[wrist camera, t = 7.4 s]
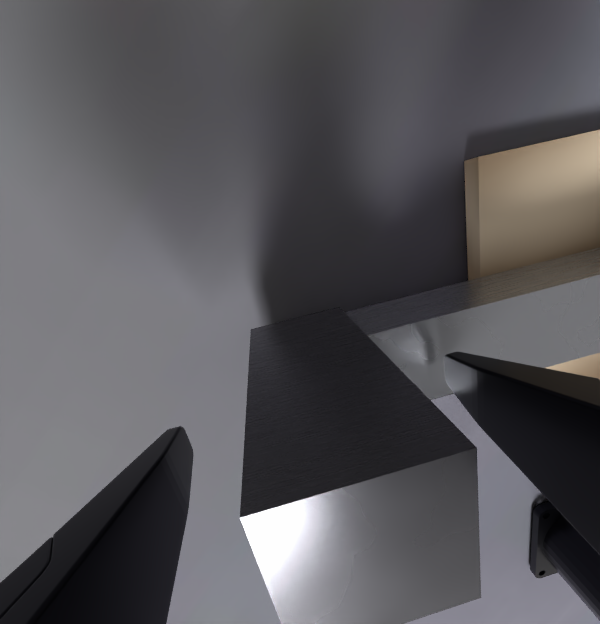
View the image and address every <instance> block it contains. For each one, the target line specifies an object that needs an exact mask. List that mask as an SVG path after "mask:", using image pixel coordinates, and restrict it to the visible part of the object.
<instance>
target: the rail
mask: <svg viewBox="0 0 600 624" xmlns="http://www.w3.org/2000/svg"><path fill="white" fill-rule="evenodd" d="M464 169H465V200H466V230H467V261H468V281H469V280H473V279H477V278H481V277H485V276H488V275H492V274H496V273H500V272H504V271H508V270H512V269H516V268H520V267H524V266H528V265H532V264H536V263H540V262H544V261H548V260H552V259H555V258H559V257H563V256H567V255H571V254H575V253H579V252H583V251H587V250H591V249H595V248H599V247H600V130H596V131H592V132H587V133H583V134H578V135H574V136H569V137H565V138H560V139H556V140H551V141H547V142H542V143H538V144H533V145H529V146H524V147H520V148H516V149H511V150H507V151H502V152H498V153H493V154H489V155H484V156H480V157H476V158H473V159H469V160H466V161H464ZM546 368H547V369H552V370H557V371H562V372H567V373H573V374H578V375H583V376H588V377H593V378H598V379H599V380H600V353H596V354H593V355H589V356H586V357H582V358H579V359H575V360H571V361H568V362H564V363H561V364H557V365H554V366H550V367H546Z"/></svg>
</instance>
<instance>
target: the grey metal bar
mask: <svg viewBox="0 0 600 624" xmlns="http://www.w3.org/2000/svg"><path fill="white" fill-rule="evenodd" d="M457 351H458V352H464V353H469V354H474V355H479V356H485V357H490V358H495V359H500V360H505V361H511V362H516V363H521V364H526V365H531V366H536V367H542V368H546V367H550V366H554V365H557V364H561V363H564V362H568V361H571V360H575V359H579V358H582V357H586V356H589V355H593V354H596V353H600V247H599V248H595V249H591V250H587V251H583V252H579V253H575V254H571V255H567V256H563V257H559V258H555V259H552V260H548V261H544V262H540V263H536V264H532V265H528V266H524V267H520V268H516V269H512V270H508V271H504V272H500V273H496V274H492V275H488V276H485V277H481V278H477V279H473V280H469V281H465V282H461V283H457V284H453V285H449V286H445V287H441V288H437V289H433V290H429V291H425V292H422V293H418V294H414V295H410V296H406V297H402V298H398V299H394V300H390V301H386V302H382V303H378V304H374V305H370V306H366V307H362V308H358V309H355V310H351V311H347V312H344V311H343V310H342V309H341V308H340V307H338V308H334V309H330V310H326V311H322V312H318V313H314V314H310V315H306V316H302V317H298V318H294V319H290V320H286V321H282V322H278V323H274V324H270V325H266V326H263V327H259V328H255V329H251V337H250V355H249V372H248V389H247V406H246V424H245V441H244V458H243V476H242V493H241V510H240V519H241V522H242V524H243V527H244V529H245V532H246V535H247V537H248V540H249V542H250V545H251V547H252V550H253V553H254V555H255V558H256V560H257V563H258V565H259V568H260V571H261V573H262V576H263V578H264V581H265V583H266V586H267V589H268V591H269V594H270V596H271V599H272V601H273V604H274V607H275V609H276V612H277V614H278V617H279V619H280V622H281V624H404V623H407V622H410V621H413V620H416V619H419V618H422V617H425V616H428V615H431V614H434V613H437V612H440V611H443V610H446V609H449V608H452V607H455V606H458V605H461V604H464V603H467V602H470V601H473V600H476V599H479V598H481V581H480V546H479V511H478V476H477V448H476V447H475V446H474V445H473V444H472V443H471V442H470V440H469V439H468V438H467V437H466V436H465V435H464V434H463V433H462V432H461V431H460V430H459V429H458V428H457V427H456V426H455V425H454V424H453V423H452V422H451V421H450V420H449V419H448V418H447V417H446V416H445V415H444V414H443V413H442V412H441V411H440V410H439V409H438V408H437V407H436V406H435V405H434V404H433V403H432V402H431V401H430V400H433V399H436V398H440V397H443V396H447V395H450V394H454V392H453V391H452V390H451V389H450V387H449V386H448V384H447V383H446V380H445V371H444V356H445V355H446V354H449V353H453V352H457Z"/></svg>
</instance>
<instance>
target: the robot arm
mask: <svg viewBox="0 0 600 624" xmlns="http://www.w3.org/2000/svg"><path fill="white" fill-rule="evenodd" d="M444 371H445V380H446V383H447V384H448V386H449V387H450V389H451V390H452V391H453V392H454V394H455V395H456V396H457V398H458V399H459V400H460V402H461V403H462V404H463V406H464V407H465V408H466V409H467V411H468V412H469V413H470V415H471V416H472V417H473V419H474V420H475V421H476V422H477V424H478V425H479V426H480V427H481V428H482V429H483V430H484V431H485V432H486V434H487V435H488V436H489V437H490V438H491V439H492V440H493V441H494V442H495V443H496V444H497V445H498V446H499V447H500V449H501V450H502V451H503V452H504V453H505V454H506V455H507V456H508V457H509V458H510V459H511V460H512V461H513V462H514V464H515V465H516V466H517V467H518V468H519V469H520V470H521V471H522V472H523V473H524V474H525V475H526V476H527V477H528V479H529V480H530V481H531V482H532V483H533V484H534V485H535V486H536V487H537V488H538V489H539V490H540V491H541V492H542V494H543V495H544V496H545V497H546V498H547V499H548V500H549V502H546V503H543V504H540V505H538V506H537V507H536V508H535V509H534V511H533V525H532V544H531V562H530V570H531V572H532V573H533V574H534V575H535V577H536V578H543V577H546V576H549V575H552V574H555V573H559V574H560V575H561V576H562V577H563V579H564V580H565V581H566V582H567V583H568V584H569V586H570V587H571V588H572V589H573V590H574V591H575V593H576V594H577V595H578V596H579V597H580V598H581V600H582V601H583V602H584V603H585V604H586V605H587V606H588V608H589V609H590V610H591V611H592V612H593V613H594V615H595V616H596V617H597V618H598V619H599V620H600V380H599V379H598V378H593V377H588V376H583V375H578V374H573V373H567V372H562V371H557V370H552V369H547V368H542V367H536V366H531V365H526V364H521V363H516V362H511V361H505V360H500V359H495V358H490V357H485V356H479V355H474V354H469V353H464V352H458V351H457V352H453V353H449V354H446V355H445V356H444ZM192 465H193V449H192V446H191V444H190V441H189V439H188V436H187V434H186V432H185V429H184V428H183V427H181V426H179V427H175V428H172V429H168V430H167V431H166V432H165V433H163V434H162V435H161V436H160V437H159V438H158V439H157V440H156V441H155V442H154V443H153V444H151V445H150V446H149V447H148V448H147V449H146V450H145V451H144V452H143V453H142V454H141V455H140V456H138V457H137V458H136V459H135V460H134V461H133V462H132V463H131V464H130V465H129V466H128V467H127V468H125V469H124V470H123V471H122V472H121V473H120V474H119V475H118V476H117V477H116V478H115V479H113V480H112V481H111V482H110V483H109V484H108V485H107V486H106V487H105V488H104V489H103V490H102V491H100V492H99V493H98V494H97V495H96V496H95V497H94V498H93V499H92V500H91V501H90V502H89V503H87V504H86V505H85V506H84V507H83V508H82V509H81V510H80V511H79V512H78V513H77V514H75V515H74V516H73V517H72V518H71V519H70V520H69V521H68V522H67V523H66V524H65V525H64V526H62V527H61V528H60V529H59V530H58V531H57V532H56V533H55V534H54V535H53V538H52V537H51V538H49V539H48V540H47V541H46V542H45V543H44V544H43V545H42V546H41V547H40V548H38V549H37V550H36V551H35V552H34V553H33V554H32V555H31V556H30V557H29V558H28V559H26V560H25V561H24V562H23V563H22V564H21V565H20V566H19V567H18V568H16V569H15V570H14V571H13V572H12V573H11V574H10V575H9V576H8V577H6V578H5V579H4V580H3V581H2V582H1V583H0V624H166V622H167V617H168V612H169V607H170V602H171V596H172V591H173V586H174V581H175V576H176V571H177V566H178V561H179V555H180V550H181V545H182V540H183V535H184V530H185V525H186V520H187V514H188V508H189V499H190V488H191V476H192Z"/></svg>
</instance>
